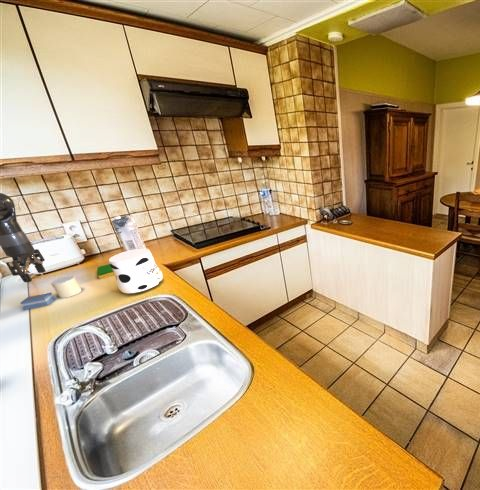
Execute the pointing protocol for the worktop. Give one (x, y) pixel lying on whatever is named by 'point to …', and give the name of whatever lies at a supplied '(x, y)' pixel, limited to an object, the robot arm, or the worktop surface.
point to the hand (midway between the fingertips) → (35, 276)
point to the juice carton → (128, 232)
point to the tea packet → (37, 301)
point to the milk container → (135, 271)
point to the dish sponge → (104, 271)
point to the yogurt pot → (66, 286)
